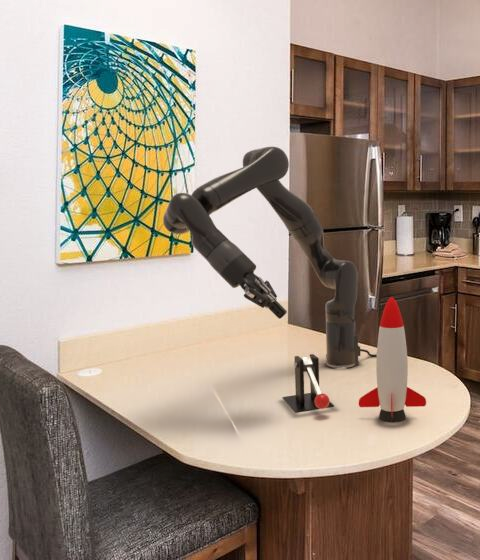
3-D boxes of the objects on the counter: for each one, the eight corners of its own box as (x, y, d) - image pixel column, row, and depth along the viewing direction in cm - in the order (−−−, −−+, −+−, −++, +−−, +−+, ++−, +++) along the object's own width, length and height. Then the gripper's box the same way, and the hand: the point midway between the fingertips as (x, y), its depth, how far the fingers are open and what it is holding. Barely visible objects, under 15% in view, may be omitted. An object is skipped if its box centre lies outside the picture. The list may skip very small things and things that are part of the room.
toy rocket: (358, 425, 146) (357, 298, 148) (392, 419, 154) (390, 299, 156) (393, 430, 138) (392, 296, 140) (426, 424, 146) (424, 297, 148)
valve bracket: (334, 410, 155) (333, 360, 153) (295, 416, 151) (294, 365, 149) (318, 395, 166) (317, 349, 164) (282, 401, 161) (280, 353, 160)
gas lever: (330, 410, 147) (332, 400, 145) (315, 413, 146) (317, 402, 144) (310, 364, 159) (312, 354, 157) (297, 366, 158) (299, 355, 156)
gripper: (231, 255, 137) (286, 310, 138) (251, 249, 150) (301, 299, 150) (209, 278, 139) (264, 332, 139) (231, 270, 152) (281, 320, 152)
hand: (283, 315), depth 145 cm, fingers closed
